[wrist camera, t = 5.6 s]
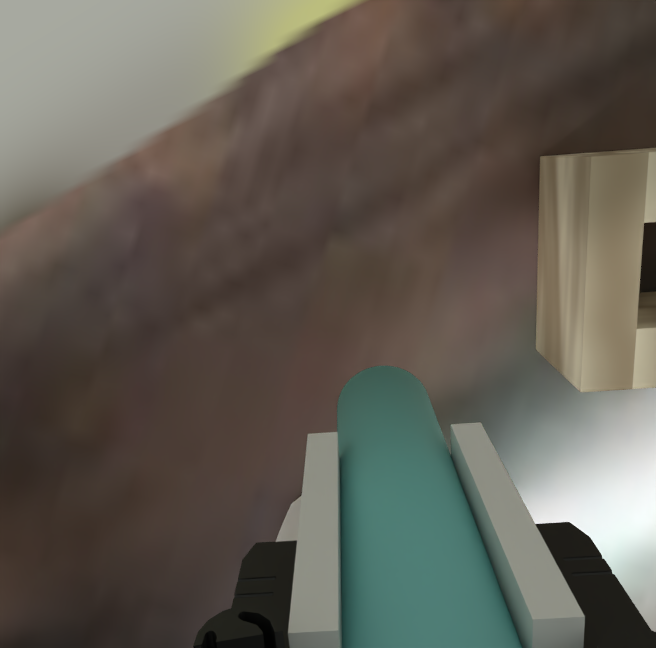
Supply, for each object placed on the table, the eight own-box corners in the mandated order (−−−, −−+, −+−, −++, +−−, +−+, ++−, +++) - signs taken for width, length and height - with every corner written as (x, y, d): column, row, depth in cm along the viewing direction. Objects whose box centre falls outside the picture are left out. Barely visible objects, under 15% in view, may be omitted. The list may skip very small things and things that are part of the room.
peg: (340, 454, 20) (346, 879, 8) (333, 369, 19) (328, 709, 7) (431, 447, 20) (566, 869, 8) (428, 362, 19) (573, 695, 7)
